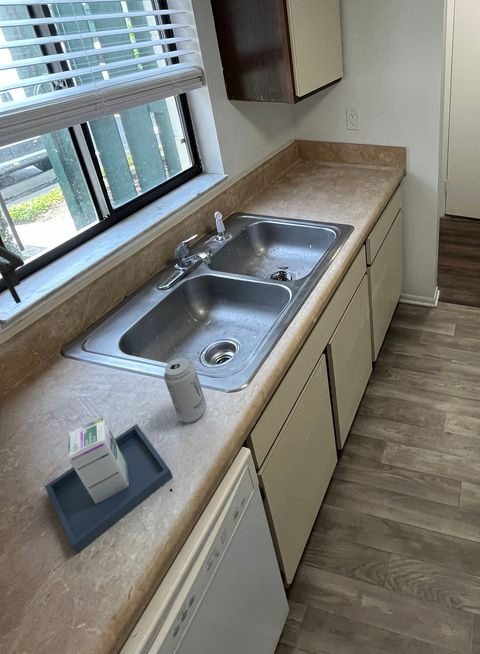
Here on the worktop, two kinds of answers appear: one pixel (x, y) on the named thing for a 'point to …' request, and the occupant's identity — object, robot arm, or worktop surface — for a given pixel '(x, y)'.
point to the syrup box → (98, 460)
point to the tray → (94, 519)
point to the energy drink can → (185, 389)
